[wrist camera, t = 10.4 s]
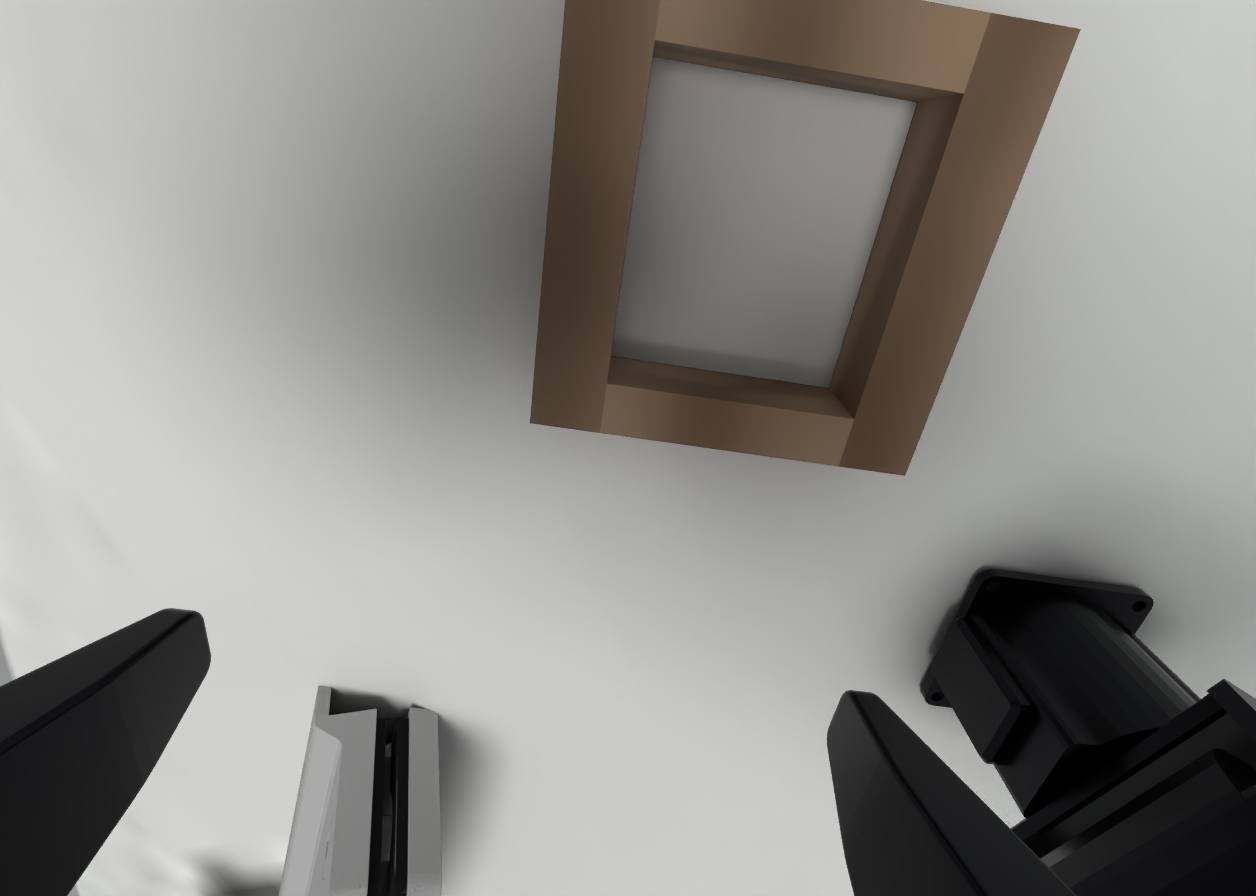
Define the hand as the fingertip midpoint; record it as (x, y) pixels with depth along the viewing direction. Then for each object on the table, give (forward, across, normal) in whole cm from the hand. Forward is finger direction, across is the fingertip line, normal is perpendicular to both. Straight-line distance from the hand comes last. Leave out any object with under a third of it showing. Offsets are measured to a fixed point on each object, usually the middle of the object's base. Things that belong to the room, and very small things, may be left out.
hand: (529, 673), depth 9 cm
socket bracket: (+12, -4, -5) cm, 14 cm away
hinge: (+12, +7, +24) cm, 28 cm away
